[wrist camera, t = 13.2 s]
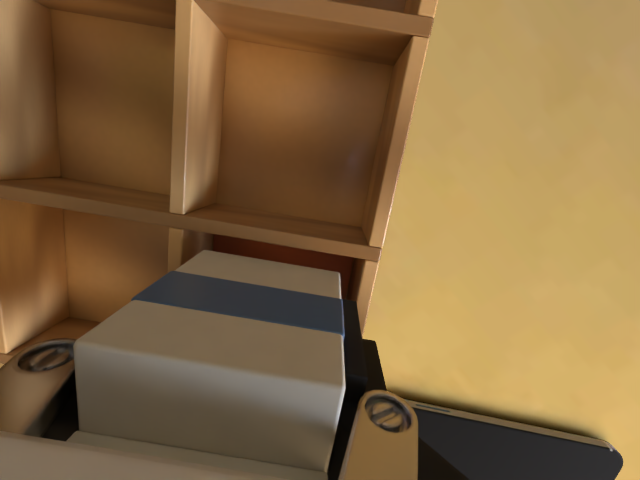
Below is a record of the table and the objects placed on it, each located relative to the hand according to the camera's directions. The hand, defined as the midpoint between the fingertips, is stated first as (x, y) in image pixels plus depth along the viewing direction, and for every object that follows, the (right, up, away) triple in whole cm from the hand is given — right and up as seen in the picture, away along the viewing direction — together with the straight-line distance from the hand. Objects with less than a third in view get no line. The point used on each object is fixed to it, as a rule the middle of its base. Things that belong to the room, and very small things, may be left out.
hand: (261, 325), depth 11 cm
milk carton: (0, 0, 0) cm, 0 cm away
